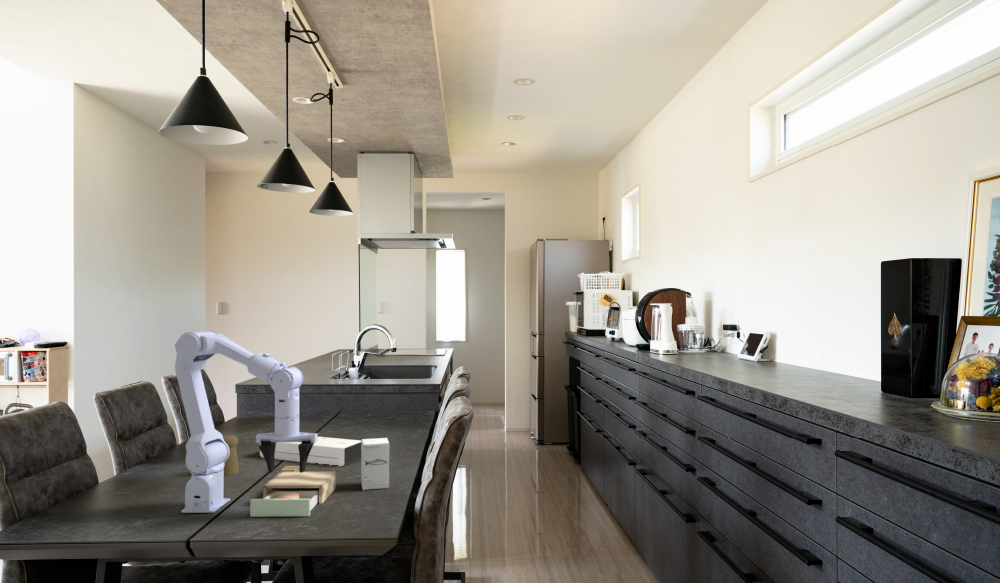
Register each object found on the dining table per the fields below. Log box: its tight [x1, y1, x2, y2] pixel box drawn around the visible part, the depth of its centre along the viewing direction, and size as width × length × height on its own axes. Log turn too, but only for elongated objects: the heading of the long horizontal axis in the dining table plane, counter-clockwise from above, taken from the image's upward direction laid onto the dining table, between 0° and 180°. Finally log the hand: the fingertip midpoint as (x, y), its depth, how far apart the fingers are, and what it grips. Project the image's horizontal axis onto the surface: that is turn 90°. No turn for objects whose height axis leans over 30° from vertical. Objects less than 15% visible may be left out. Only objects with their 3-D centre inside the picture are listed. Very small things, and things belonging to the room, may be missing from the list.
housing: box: [262, 470, 337, 504], centre depth 159 cm, size 13×15×5 cm
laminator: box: [258, 436, 362, 467], centre depth 198 cm, size 34×12×6 cm, turn 69°
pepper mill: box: [223, 435, 240, 476], centre depth 181 cm, size 6×6×11 cm
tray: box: [249, 490, 319, 518], centre depth 150 cm, size 13×14×4 cm
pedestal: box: [280, 465, 300, 472], centre depth 171 cm, size 4×4×4 cm
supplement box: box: [360, 437, 390, 491], centre depth 168 cm, size 7×7×13 cm
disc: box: [275, 493, 299, 499], centre depth 149 cm, size 6×6×2 cm
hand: (286, 471), depth 148 cm, fingers open, 7 cm apart
